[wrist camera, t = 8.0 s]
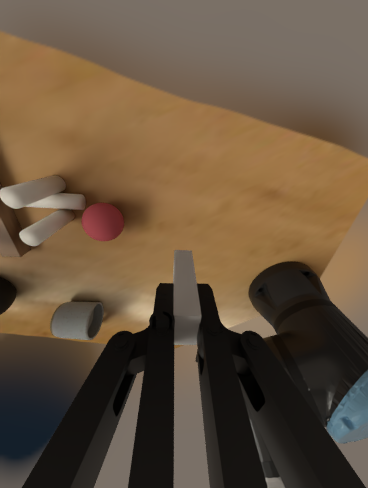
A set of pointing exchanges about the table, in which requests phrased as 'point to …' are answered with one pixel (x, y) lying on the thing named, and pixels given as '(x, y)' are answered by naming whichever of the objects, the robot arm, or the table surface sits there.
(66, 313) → the ceramic mug
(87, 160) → the table surface
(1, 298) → the cola bottle
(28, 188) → the pin
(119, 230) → the ball
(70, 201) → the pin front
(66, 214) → the pin
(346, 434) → the robot arm
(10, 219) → the back rail
